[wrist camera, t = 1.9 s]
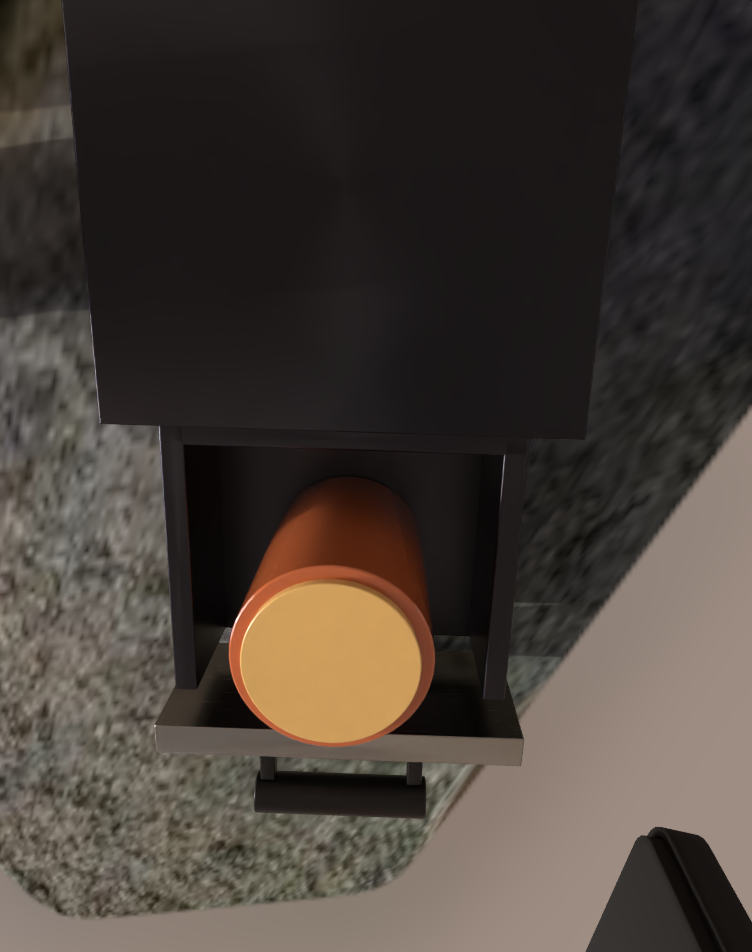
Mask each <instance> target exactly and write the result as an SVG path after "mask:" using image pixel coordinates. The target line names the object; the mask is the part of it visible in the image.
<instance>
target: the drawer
mask: <svg viewBox="0 0 752 952" xmlns="http://www.w3.org/2000/svg"><path fill="white" fill-rule="evenodd" d="M159 437H160V453H161V468H162V483H163V499H164V514H165V529H166V545H167V560H168V576H169V591H170V606H171V622H172V637H173V653H174V668H175V683H176V685H175V687H174V689H173V691H172V693H171V695H170V697H169V699H168V701H167V702H166V704H165V706H164V708H163V710H162V712H161V714H160V716H159V718H158V720H157V722H156V724H155V726H154V727H155V740H156V751H157V752H162V753H189V754H215V755H242V756H260V770H259V772H258V774H257V777H256V783H255V790H254V810H255V812H262V813H288V814H314V815H339V816H365V817H391V818H417V819H424V818H425V814H426V780H425V777H424V776H422V763H423V762H426V763H453V764H479V765H506V766H521V763H522V754H523V745H524V738H523V735H522V731H521V727H520V724H519V720H518V717H517V713H516V710H515V706H514V703H513V700H512V696H511V693H510V689H509V686H508V682H507V679H506V678H507V667H508V657H509V647H510V637H511V626H512V616H513V606H514V596H515V585H516V575H517V565H518V555H519V544H520V534H521V524H522V514H523V503H524V493H525V483H526V473H527V462H528V452H529V442H530V438H515V437H484V436H454V435H424V434H393V433H363V432H333V431H302V430H272V429H242V428H211V427H181V426H159ZM346 476H351V477H360V478H365V479H369V480H372V481H375V482H378V483H380V484H382V485H384V486H386V487H388V488H389V489H391V490H392V491H394V492H395V493H396V494H397V495H398V496H400V497H401V498H402V499H403V500H404V501H405V503H406V504H407V505H408V506H409V508H410V509H411V511H412V512H413V514H414V516H415V518H416V520H417V522H418V525H419V529H420V532H421V539H422V546H423V555H424V563H425V572H426V580H427V588H428V597H429V605H430V614H431V622H432V630H433V635H452V636H469V638H470V642H471V647H472V651H473V652H455V651H435V668H434V675H433V678H432V682H431V685H430V688H429V690H428V692H427V694H426V696H425V698H424V700H423V701H422V703H421V704H420V706H419V707H418V709H417V710H416V711H415V712H414V713H413V714H412V716H411V717H410V718H409V719H408V720H406V721H405V722H404V723H403V724H402V725H401V726H399V727H398V728H396V729H395V730H393V731H392V732H390V733H388V734H386V735H384V736H382V737H380V738H378V739H375V740H373V741H370V742H367V743H363V744H358V745H353V746H345V747H326V746H316V745H312V744H307V743H303V742H300V741H297V740H294V739H291V738H289V737H287V736H285V735H282V734H281V733H279V732H277V731H276V730H274V729H272V728H271V727H269V726H268V725H267V724H265V723H264V722H263V721H261V720H260V719H259V718H258V717H257V716H256V715H255V714H254V713H253V712H252V711H251V710H250V708H249V707H248V706H247V704H246V703H245V702H244V700H243V699H242V697H241V695H240V694H239V692H238V690H237V688H236V685H235V683H234V680H233V677H232V673H231V670H230V663H229V643H219V641H220V638H221V636H222V634H223V632H224V630H225V628H226V627H229V628H233V625H234V623H235V620H236V618H237V615H238V613H239V611H240V609H241V606H242V604H243V602H244V600H245V597H246V595H247V593H248V591H249V588H250V586H251V584H252V582H253V579H254V577H255V575H256V572H257V570H258V568H259V566H260V563H261V561H262V559H263V557H264V554H265V552H266V550H267V548H268V545H269V543H270V541H271V539H272V536H273V534H274V532H275V530H276V527H277V525H278V523H279V521H280V518H281V516H282V514H283V513H284V511H285V509H286V508H287V506H288V505H289V503H290V502H291V501H292V500H293V499H294V498H295V497H296V496H297V495H298V494H299V493H301V492H302V491H303V490H304V489H306V488H308V487H309V486H311V485H313V484H315V483H317V482H320V481H322V480H326V479H329V478H335V477H346ZM277 757H294V758H321V759H347V760H373V761H400V762H407V773H406V776H403V775H377V774H350V773H324V772H298V771H277Z"/></svg>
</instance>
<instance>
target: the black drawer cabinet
mask: <svg viewBox="0 0 752 952" xmlns="http://www.w3.org/2000/svg"><path fill="white" fill-rule="evenodd" d="M638 1H639V0H61V2H62V13H63V24H64V35H65V46H66V57H67V68H68V79H69V90H70V101H71V112H72V123H73V134H74V145H75V156H76V167H77V178H78V189H79V200H80V211H81V222H82V233H83V244H84V255H85V266H86V277H87V288H88V299H89V310H90V321H91V332H92V343H93V354H94V365H95V377H96V388H97V399H98V410H99V421H100V423H101V424H120V425H151V426H181V427H211V428H242V429H272V430H302V431H333V432H363V433H393V434H424V435H454V436H484V437H515V438H545V439H576V440H584V439H585V436H586V427H587V419H588V411H589V403H590V395H591V386H592V378H593V370H594V362H595V353H596V345H597V337H598V329H599V321H600V312H601V304H602V296H603V288H604V280H605V271H606V263H607V255H608V247H609V239H610V230H611V222H612V214H613V206H614V198H615V189H616V181H617V173H618V165H619V156H620V148H621V140H622V132H623V124H624V115H625V107H626V99H627V91H628V83H629V74H630V66H631V58H632V50H633V42H634V33H635V25H636V17H637V9H638Z"/></svg>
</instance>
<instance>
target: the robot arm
mask: <svg viewBox="0 0 752 952" xmlns="http://www.w3.org/2000/svg"><path fill="white" fill-rule="evenodd" d="M586 952H752V922H751V920H750V918H749V917H748V915H747V913H746V911H745V909H744V908H743V906H742V904H741V902H740V900H739V899H738V897H737V895H736V893H735V891H734V890H733V888H732V886H731V884H730V883H729V881H728V879H727V877H726V875H725V873H724V872H723V870H722V868H721V866H720V865H719V863H718V861H717V859H716V857H715V856H714V854H713V852H712V850H711V849H710V847H709V845H708V844H707V842H706V841H705V840H704V839H703V838H702V837H700V836H698V835H694V834H690V833H686V832H681V831H676V830H672V829H667V828H663V827H655V828H653V829H652V830H651V831H650V832H649V834H648V835H647V836H640V837H638V838H637V840H636V841H635V843H634V845H633V848H632V850H631V852H630V854H629V857H628V859H627V861H626V863H625V866H624V868H623V870H622V872H621V874H620V877H619V879H618V881H617V883H616V885H615V888H614V890H613V892H612V894H611V897H610V899H609V901H608V903H607V905H606V908H605V910H604V912H603V914H602V917H601V919H600V921H599V923H598V925H597V928H596V930H595V932H594V934H593V936H592V939H591V941H590V943H589V945H588V948H587V950H586Z"/></svg>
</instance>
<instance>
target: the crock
mask: <svg viewBox="0 0 752 952" xmlns="http://www.w3.org/2000/svg"><path fill="white" fill-rule="evenodd" d="M229 663H230V670H231V673H232V677H233V680H234V683H235V685H236V688H237V690H238V692H239V694H240V695H241V697H242V699H243V700H244V702H245V703H246V704H247V706H248V707H249V708H250V710H251V711H252V712H253V713H254V714H255V715H256V716H257V717H258V718H259V719H260V720H261V721H263V722H264V723H265V724H267V725H268V726H269V727H271V728H272V729H274V730H276V731H277V732H279V733H281V734H282V735H285V736H287V737H289V738H291V739H294V740H297V741H300V742H303V743H307V744H312V745H316V746H326V747H345V746H353V745H358V744H363V743H367V742H370V741H373V740H375V739H378V738H380V737H382V736H384V735H386V734H388V733H390V732H392V731H393V730H395V729H396V728H398V727H399V726H401V725H402V724H403V723H404V722H405V721H406V720H408V719H409V718H410V717H411V716H412V714H413V713H414V712H415V711H416V710H417V709H418V707H419V706H420V704H421V703H422V701H423V700H424V698H425V696H426V694H427V692H428V690H429V688H430V685H431V682H432V678H433V675H434V668H435V647H434V639H433V630H432V622H431V614H430V605H429V597H428V588H427V580H426V572H425V563H424V555H423V546H422V539H421V532H420V529H419V525H418V522H417V520H416V518H415V516H414V514H413V512H412V511H411V509H410V508H409V506H408V505H407V504H406V503H405V501H404V500H403V499H402V498H401V497H400V496H398V495H397V494H396V493H395V492H394V491H392V490H391V489H389V488H388V487H386V486H384V485H382V484H380V483H378V482H375V481H372V480H369V479H365V478H360V477H351V476H346V477H335V478H329V479H326V480H322V481H320V482H317V483H315V484H313V485H311V486H309V487H308V488H306V489H304V490H303V491H302V492H301V493H299V494H298V495H297V496H296V497H295V498H294V499H293V500H292V501H291V502H290V503H289V505H288V506H287V508H286V509H285V511H284V513H283V514H282V516H281V518H280V521H279V523H278V525H277V527H276V530H275V532H274V534H273V536H272V539H271V541H270V543H269V545H268V548H267V550H266V552H265V554H264V557H263V559H262V561H261V563H260V566H259V568H258V570H257V572H256V575H255V577H254V579H253V582H252V584H251V586H250V588H249V591H248V593H247V595H246V597H245V600H244V602H243V604H242V606H241V609H240V611H239V613H238V615H237V618H236V620H235V623H234V625H233V628H232V631H231V636H230V641H229Z"/></svg>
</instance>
